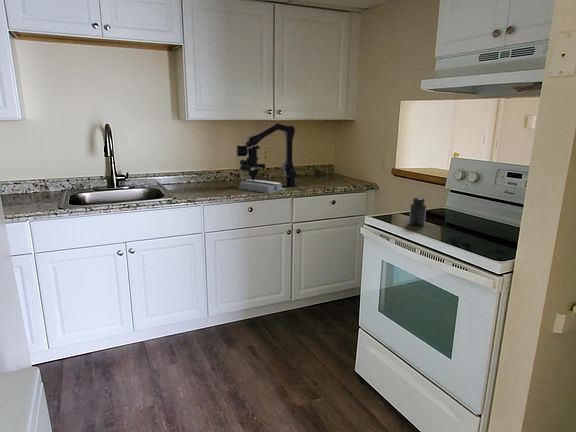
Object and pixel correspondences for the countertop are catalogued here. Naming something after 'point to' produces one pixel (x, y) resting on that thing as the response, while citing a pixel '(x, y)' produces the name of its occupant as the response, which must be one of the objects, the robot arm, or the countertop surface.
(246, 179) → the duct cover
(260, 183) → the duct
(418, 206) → the supplement bottle
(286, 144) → the robot arm
